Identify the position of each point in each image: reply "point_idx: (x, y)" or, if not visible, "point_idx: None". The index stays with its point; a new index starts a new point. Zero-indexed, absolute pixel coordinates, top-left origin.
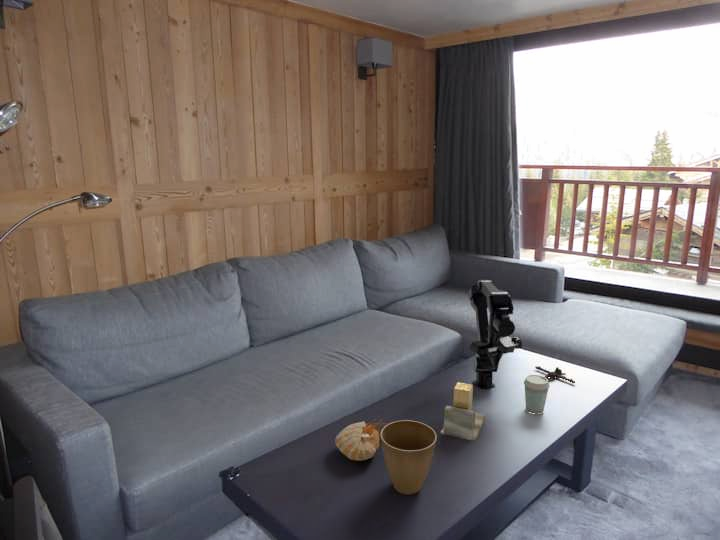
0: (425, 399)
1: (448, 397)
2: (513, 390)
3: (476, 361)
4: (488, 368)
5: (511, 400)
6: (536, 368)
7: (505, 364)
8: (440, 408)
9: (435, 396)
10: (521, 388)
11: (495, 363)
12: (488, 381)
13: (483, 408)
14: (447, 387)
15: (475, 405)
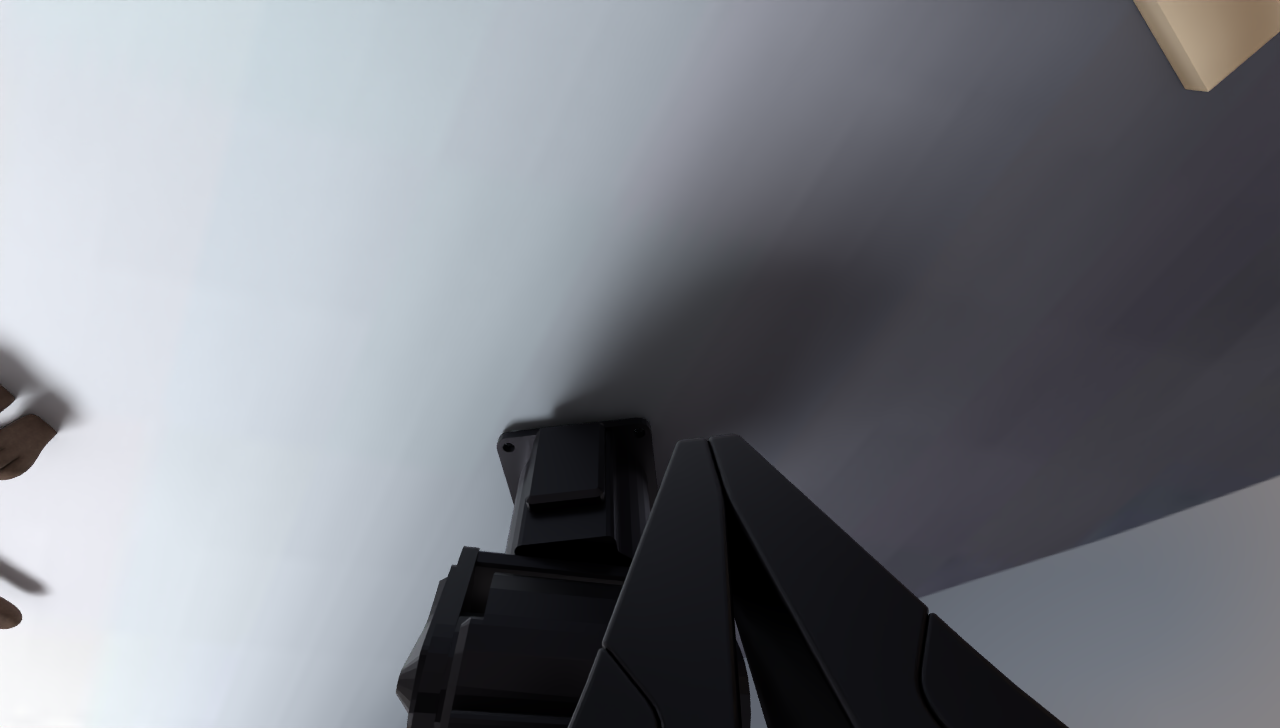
0: (1199, 365)
1: (1005, 354)
2: (345, 340)
3: (742, 706)
4: (589, 584)
5: (446, 143)
6: (12, 608)
7: (282, 684)
8: (1244, 179)
9: (1086, 391)
10: (247, 358)
11: (779, 511)
12: (580, 461)
13: (858, 45)
14: (889, 493)
15: (891, 142)
